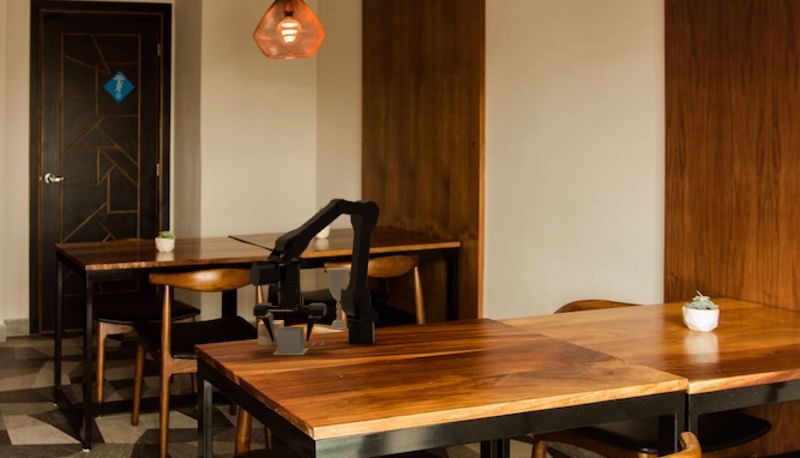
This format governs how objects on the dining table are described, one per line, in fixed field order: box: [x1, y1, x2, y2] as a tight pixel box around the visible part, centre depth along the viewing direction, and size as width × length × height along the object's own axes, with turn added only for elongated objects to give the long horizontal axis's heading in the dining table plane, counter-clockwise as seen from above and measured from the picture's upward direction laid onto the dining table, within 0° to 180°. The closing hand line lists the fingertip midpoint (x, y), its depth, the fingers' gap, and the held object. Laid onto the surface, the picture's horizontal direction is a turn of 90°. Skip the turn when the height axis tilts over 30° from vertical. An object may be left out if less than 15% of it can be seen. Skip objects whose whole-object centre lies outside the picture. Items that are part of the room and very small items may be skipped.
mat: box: [272, 347, 309, 356], centre depth 267 cm, size 8×8×1 cm
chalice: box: [325, 267, 351, 330], centre depth 304 cm, size 7×7×18 cm
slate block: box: [276, 326, 305, 353], centre depth 267 cm, size 6×6×6 cm
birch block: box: [257, 319, 285, 347], centre depth 279 cm, size 6×6×6 cm
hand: (290, 341), depth 267 cm, fingers open, 9 cm apart
